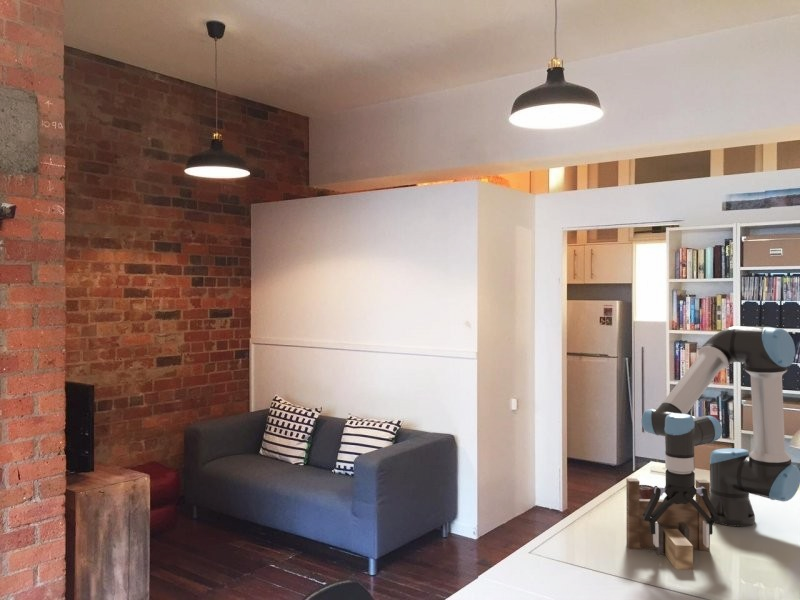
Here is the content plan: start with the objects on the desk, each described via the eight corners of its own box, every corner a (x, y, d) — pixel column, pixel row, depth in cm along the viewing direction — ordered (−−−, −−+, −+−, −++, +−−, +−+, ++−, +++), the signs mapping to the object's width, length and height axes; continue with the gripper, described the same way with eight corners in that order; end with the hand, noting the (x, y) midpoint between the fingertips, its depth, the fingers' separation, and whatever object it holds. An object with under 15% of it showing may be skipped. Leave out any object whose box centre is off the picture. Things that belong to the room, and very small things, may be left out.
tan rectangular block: (677, 550, 195) (677, 527, 195) (693, 569, 182) (693, 544, 182) (661, 550, 196) (661, 527, 196) (675, 568, 182) (675, 544, 182)
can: (658, 535, 207) (658, 490, 207) (636, 533, 209) (636, 489, 208) (654, 528, 213) (654, 484, 213) (633, 526, 215) (633, 483, 214)
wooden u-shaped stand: (706, 546, 198) (706, 479, 197) (715, 556, 190) (715, 487, 190) (626, 544, 200) (626, 478, 199) (633, 554, 192) (632, 485, 192)
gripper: (721, 466, 189) (721, 540, 189) (630, 466, 191) (631, 539, 191) (731, 474, 181) (732, 551, 182) (637, 474, 183) (638, 550, 184)
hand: (680, 545), depth 186 cm, fingers open, 13 cm apart
